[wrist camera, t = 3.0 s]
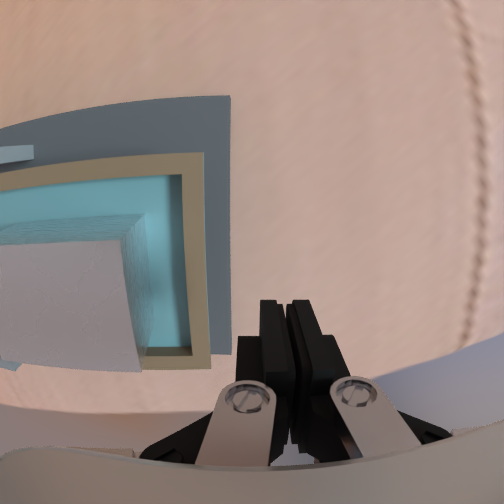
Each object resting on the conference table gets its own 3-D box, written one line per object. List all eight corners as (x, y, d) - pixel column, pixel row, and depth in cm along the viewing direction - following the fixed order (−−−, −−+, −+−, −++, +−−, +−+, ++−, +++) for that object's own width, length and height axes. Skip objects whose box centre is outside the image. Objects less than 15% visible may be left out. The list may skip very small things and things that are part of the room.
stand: (-37, 316, 26) (-79, 352, 17) (-64, 154, 20) (-119, 164, 11) (231, 346, 27) (227, 422, 18) (230, 98, 21) (222, 65, 12)
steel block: (37, 315, 16) (2, 359, 12) (19, 222, 15) (-32, 247, 10) (155, 318, 17) (141, 372, 13) (144, 213, 16) (119, 240, 11)
